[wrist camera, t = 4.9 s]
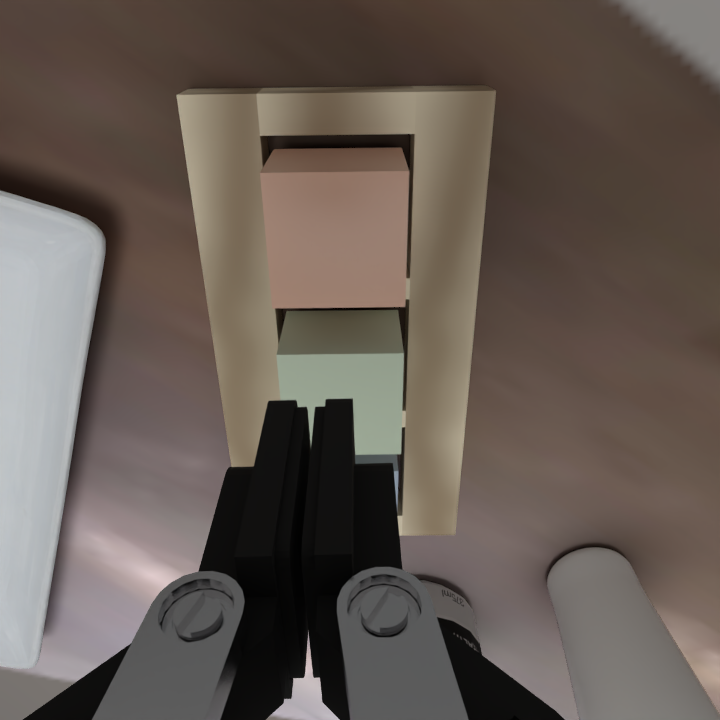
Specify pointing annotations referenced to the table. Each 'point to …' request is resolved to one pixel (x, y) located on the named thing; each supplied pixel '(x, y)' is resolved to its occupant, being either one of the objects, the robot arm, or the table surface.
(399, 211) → the key terracotta
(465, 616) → the supplement can
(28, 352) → the tray
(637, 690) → the drinking glass
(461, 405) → the keypad base
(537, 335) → the table surface
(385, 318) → the key sage
